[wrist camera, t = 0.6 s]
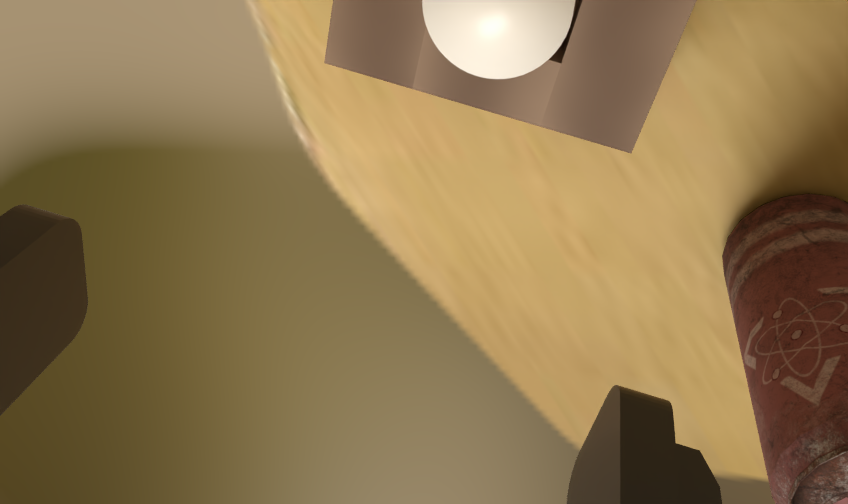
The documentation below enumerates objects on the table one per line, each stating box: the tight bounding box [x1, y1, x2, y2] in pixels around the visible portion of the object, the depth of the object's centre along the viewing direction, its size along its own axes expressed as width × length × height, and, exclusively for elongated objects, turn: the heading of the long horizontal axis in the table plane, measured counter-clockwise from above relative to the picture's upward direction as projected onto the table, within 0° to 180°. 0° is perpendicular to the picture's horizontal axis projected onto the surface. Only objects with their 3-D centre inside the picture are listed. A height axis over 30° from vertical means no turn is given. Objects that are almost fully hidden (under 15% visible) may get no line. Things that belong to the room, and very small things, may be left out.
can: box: [722, 194, 848, 504], centre depth 26 cm, size 6×6×14 cm
